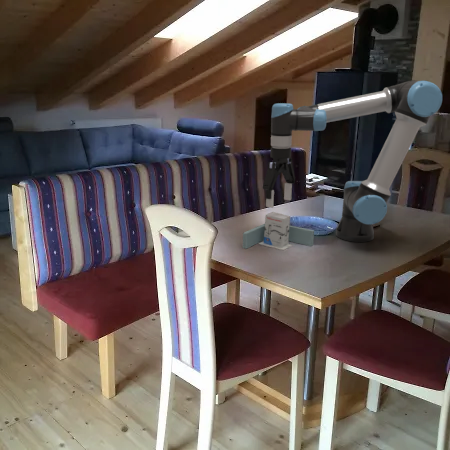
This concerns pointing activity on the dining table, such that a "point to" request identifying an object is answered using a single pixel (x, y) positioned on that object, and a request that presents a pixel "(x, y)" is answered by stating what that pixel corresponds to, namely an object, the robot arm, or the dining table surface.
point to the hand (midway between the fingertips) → (278, 203)
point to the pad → (275, 246)
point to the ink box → (276, 229)
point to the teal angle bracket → (295, 236)
